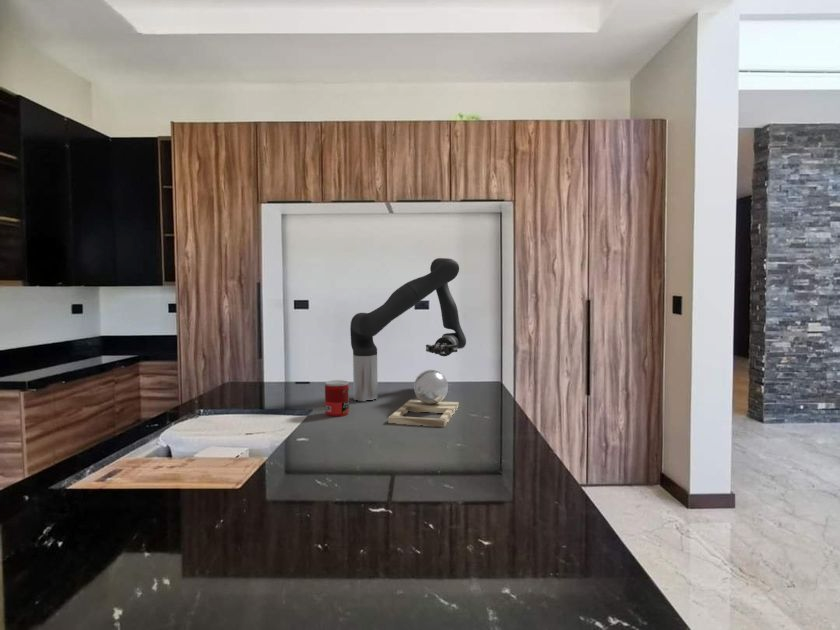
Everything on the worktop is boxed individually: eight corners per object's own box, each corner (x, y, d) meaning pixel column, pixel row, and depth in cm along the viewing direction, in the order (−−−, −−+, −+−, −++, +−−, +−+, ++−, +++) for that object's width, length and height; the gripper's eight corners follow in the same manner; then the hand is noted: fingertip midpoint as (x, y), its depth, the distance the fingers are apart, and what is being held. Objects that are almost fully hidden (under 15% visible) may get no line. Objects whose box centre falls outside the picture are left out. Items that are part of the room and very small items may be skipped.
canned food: (347, 417, 172) (346, 384, 172) (323, 417, 172) (322, 384, 172) (350, 411, 180) (350, 380, 179) (327, 411, 180) (327, 380, 179)
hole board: (410, 404, 189) (410, 399, 189) (458, 407, 185) (458, 402, 185) (388, 423, 164) (388, 417, 164) (444, 427, 160) (444, 420, 159)
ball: (407, 402, 184) (407, 369, 183) (436, 398, 190) (436, 366, 189) (425, 409, 174) (425, 374, 173) (454, 405, 180) (454, 371, 179)
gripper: (429, 336, 208) (419, 340, 191) (462, 336, 205) (454, 341, 188) (429, 354, 208) (419, 361, 192) (462, 355, 205) (454, 361, 188)
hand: (436, 351), depth 190 cm, fingers closed
